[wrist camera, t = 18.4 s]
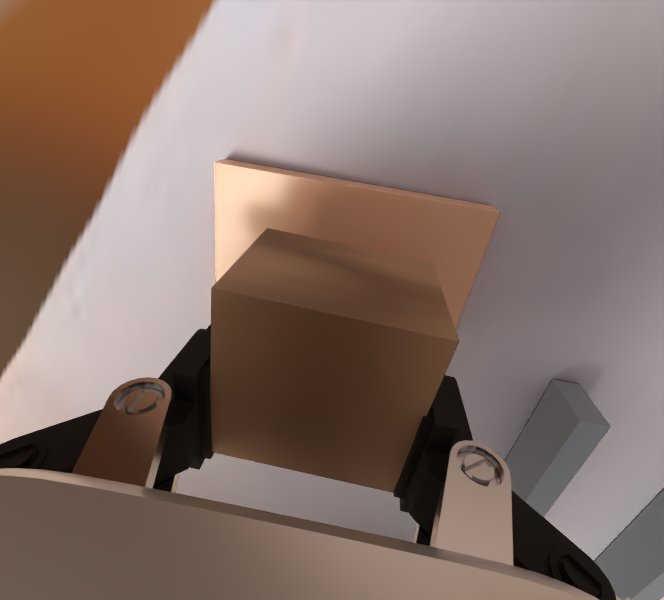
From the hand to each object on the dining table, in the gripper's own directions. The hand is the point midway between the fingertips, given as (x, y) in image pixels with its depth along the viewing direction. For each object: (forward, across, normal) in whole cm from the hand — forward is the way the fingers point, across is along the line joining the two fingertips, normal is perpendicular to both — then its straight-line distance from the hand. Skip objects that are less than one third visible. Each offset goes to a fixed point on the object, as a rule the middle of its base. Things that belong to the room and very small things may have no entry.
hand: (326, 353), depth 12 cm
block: (+1, 0, -1) cm, 1 cm away
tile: (+4, 0, 0) cm, 4 cm away
